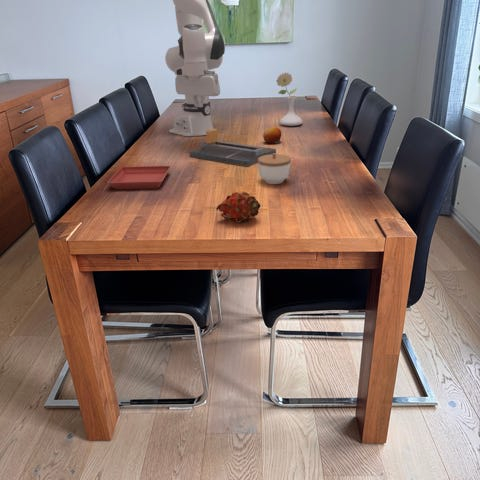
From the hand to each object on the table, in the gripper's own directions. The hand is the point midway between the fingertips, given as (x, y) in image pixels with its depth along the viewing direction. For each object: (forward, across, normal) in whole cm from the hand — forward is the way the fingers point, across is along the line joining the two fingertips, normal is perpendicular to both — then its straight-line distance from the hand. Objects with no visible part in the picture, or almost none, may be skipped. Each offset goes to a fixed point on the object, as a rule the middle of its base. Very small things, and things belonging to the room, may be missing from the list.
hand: (198, 106), depth 188 cm
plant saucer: (+19, -7, +41) cm, 46 cm away
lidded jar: (+19, -47, +18) cm, 54 cm away
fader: (+16, -6, 0) cm, 17 cm away
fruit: (+18, -18, -25) cm, 36 cm away
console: (+18, -16, 0) cm, 24 cm away
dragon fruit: (+19, -56, +52) cm, 78 cm away
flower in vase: (+17, -7, -59) cm, 62 cm away
